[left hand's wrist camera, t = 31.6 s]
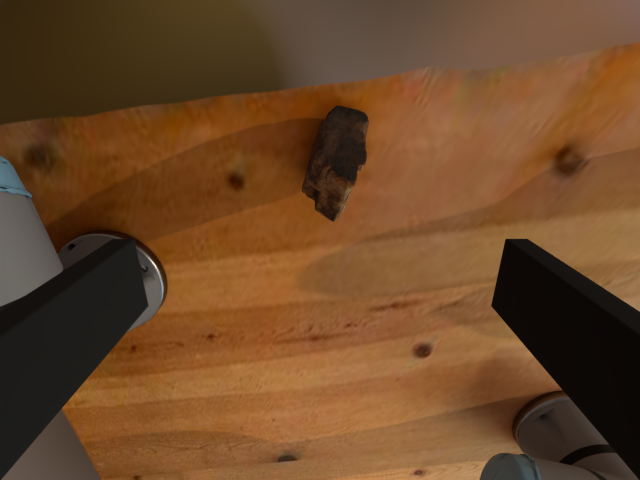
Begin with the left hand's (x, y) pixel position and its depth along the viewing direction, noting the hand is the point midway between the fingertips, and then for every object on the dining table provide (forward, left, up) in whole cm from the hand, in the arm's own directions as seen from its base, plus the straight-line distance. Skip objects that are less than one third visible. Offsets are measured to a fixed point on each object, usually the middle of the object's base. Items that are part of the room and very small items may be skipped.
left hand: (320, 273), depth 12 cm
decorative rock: (+2, 0, -34) cm, 34 cm away
